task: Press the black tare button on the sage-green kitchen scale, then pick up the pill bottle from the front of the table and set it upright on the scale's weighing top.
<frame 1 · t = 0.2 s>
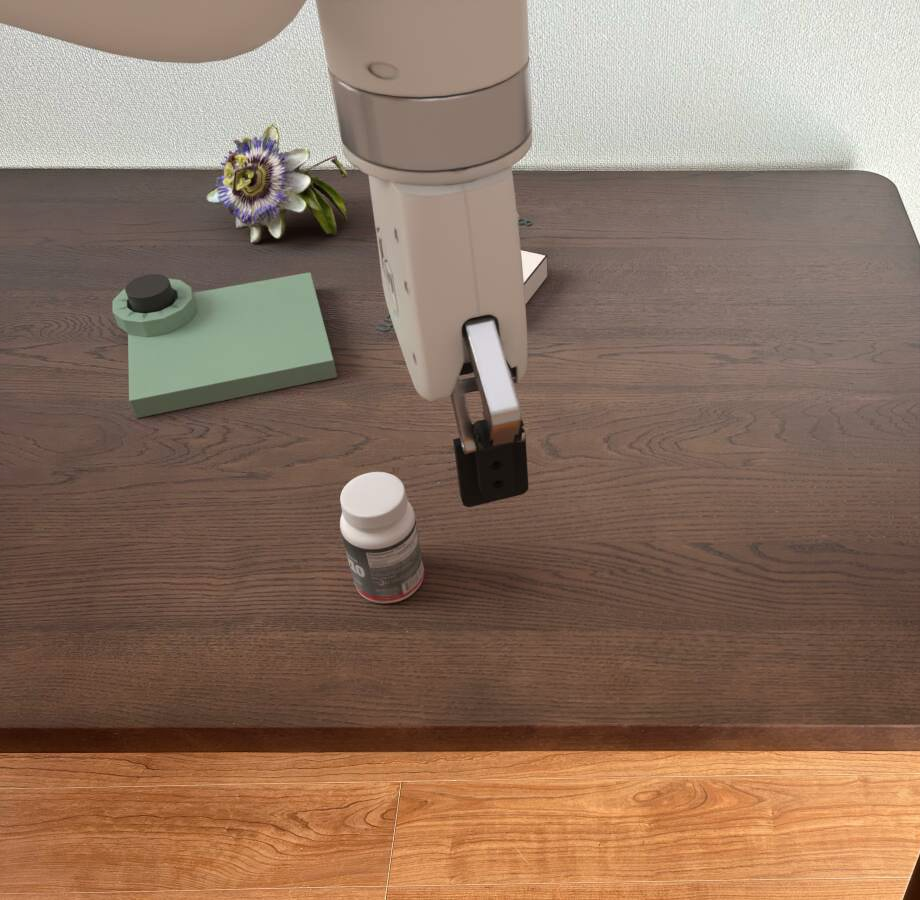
hand: (470, 431, 49), 19 cm above the table, tool pointing down, fingers open, 9 cm apart
scale: (232, 348, 84), on the table
tare button: (150, 294, 83), point 4 cm above the table, slide at 0.1 cm
pill bottle: (390, 580, 66), on the table
passion flower: (287, 225, 100), on the table
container: (472, 291, 92), on the table
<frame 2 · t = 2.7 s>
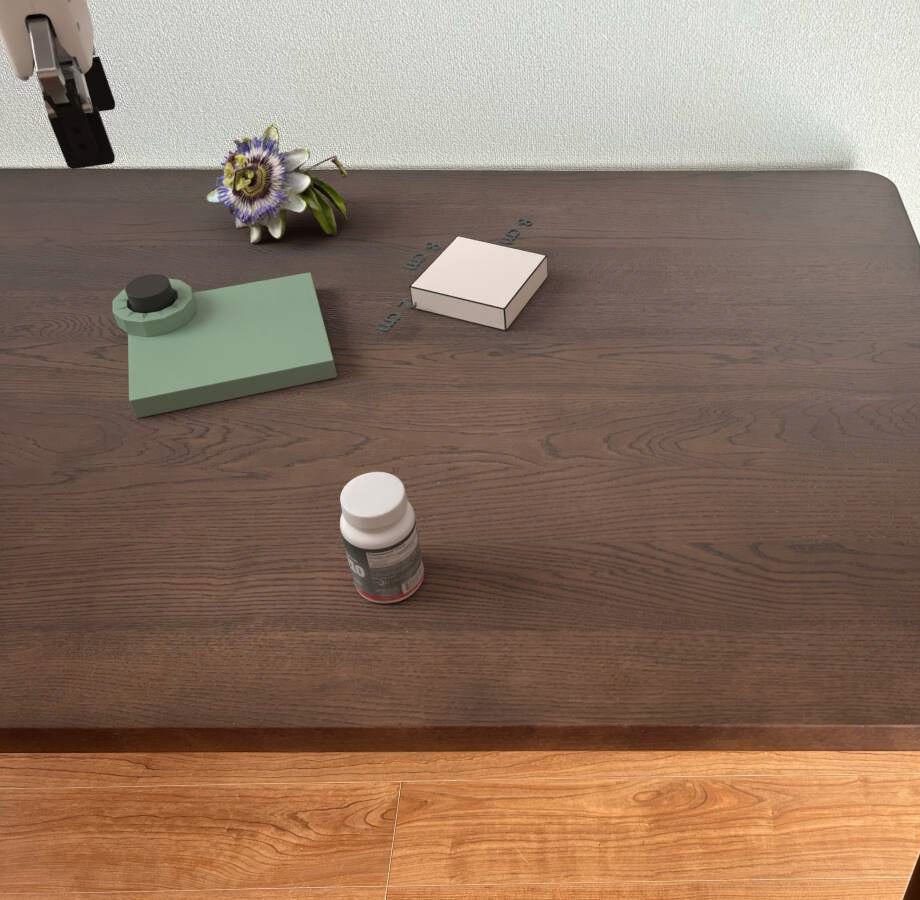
hand: (93, 136, 73), 18 cm above the table, tool pointing down, fingers open, 9 cm apart
nothing on the table moved.
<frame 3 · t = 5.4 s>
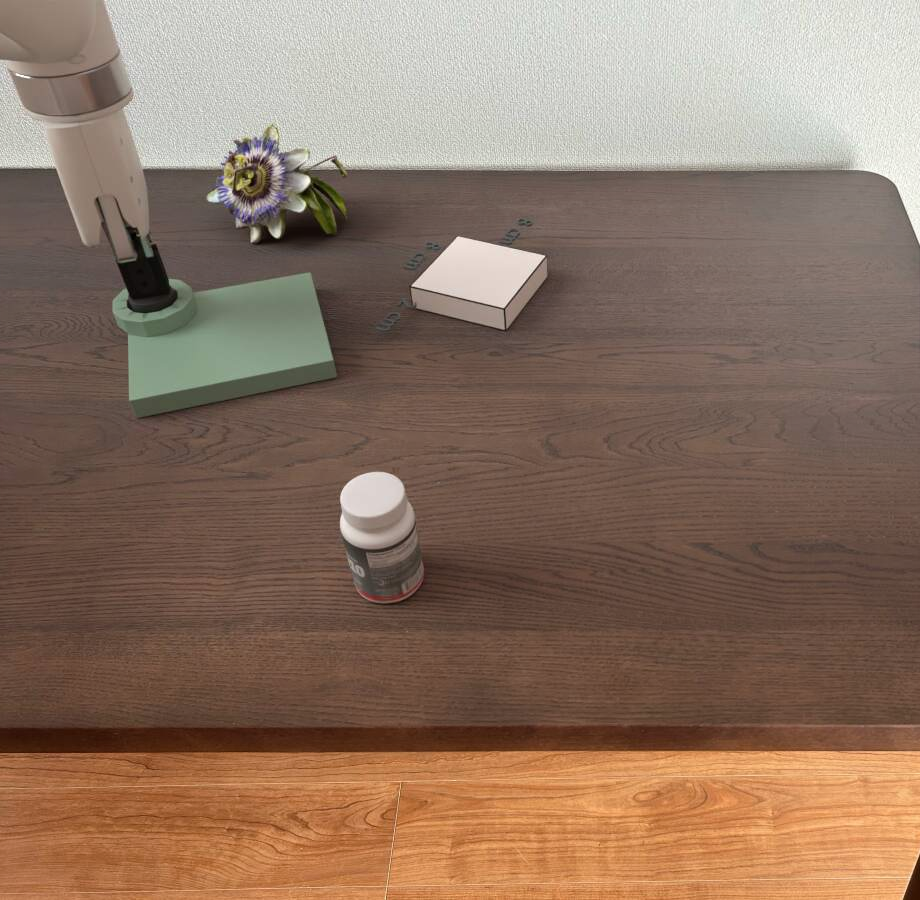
hand: (150, 291, 83), 4 cm above the table, tool pointing down, fingers closed
tare button: (153, 301, 84), point 3 cm above the table, slide at -0.6 cm, touching gripper
everything else where it was.
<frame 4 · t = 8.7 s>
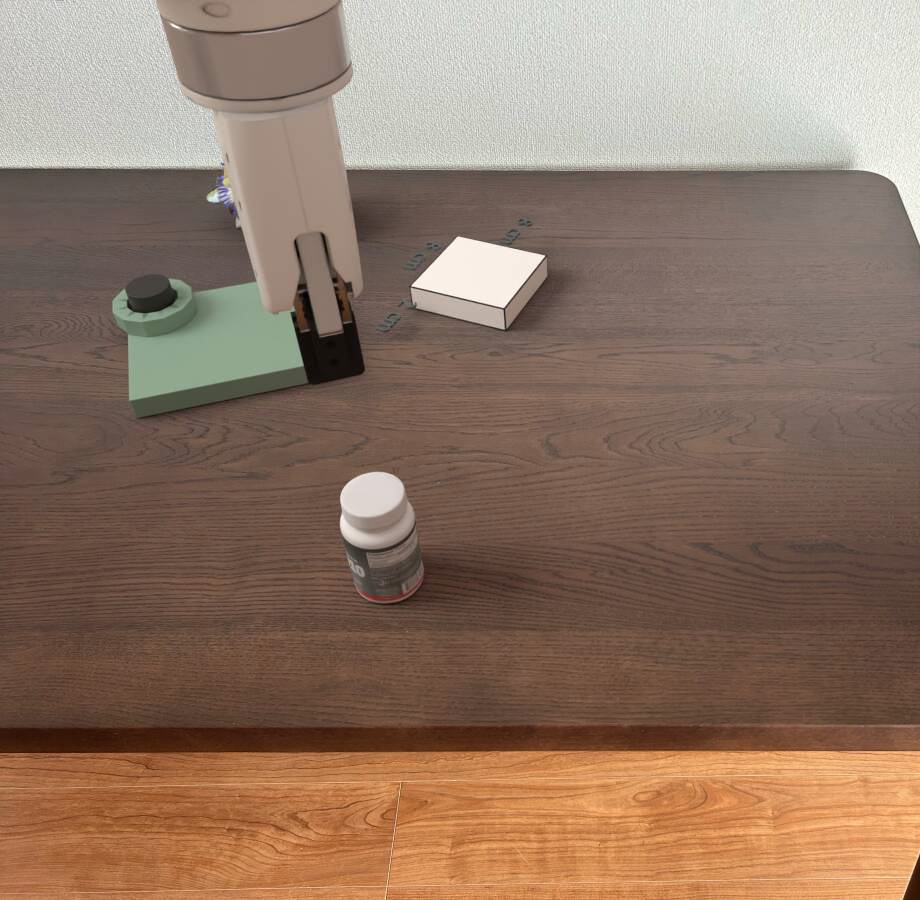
hand: (335, 371, 55), 17 cm above the table, tool pointing down, fingers closed
tare button: (150, 294, 83), point 4 cm above the table, slide at 0.1 cm
everything else where it was.
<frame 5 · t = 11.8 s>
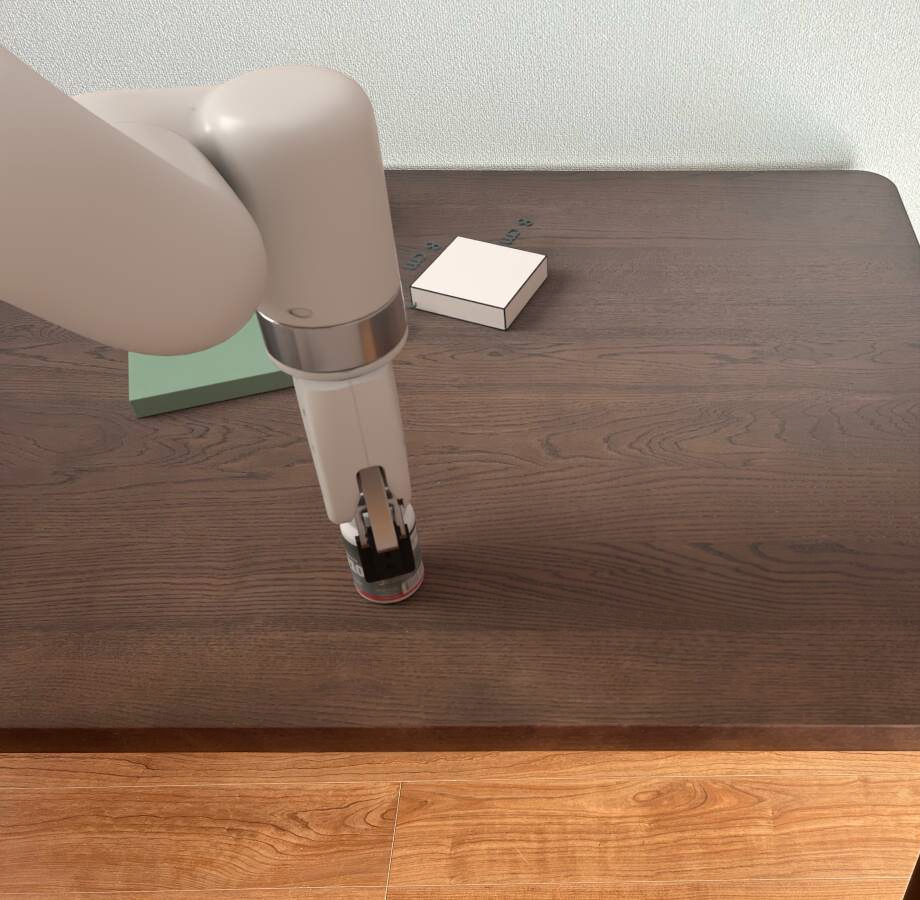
hand: (382, 541, 63), 4 cm above the table, tool pointing down, fingers closed on pill bottle, 4 cm apart
pill bottle: (390, 580, 66), on the table, touching gripper
everything else where it was.
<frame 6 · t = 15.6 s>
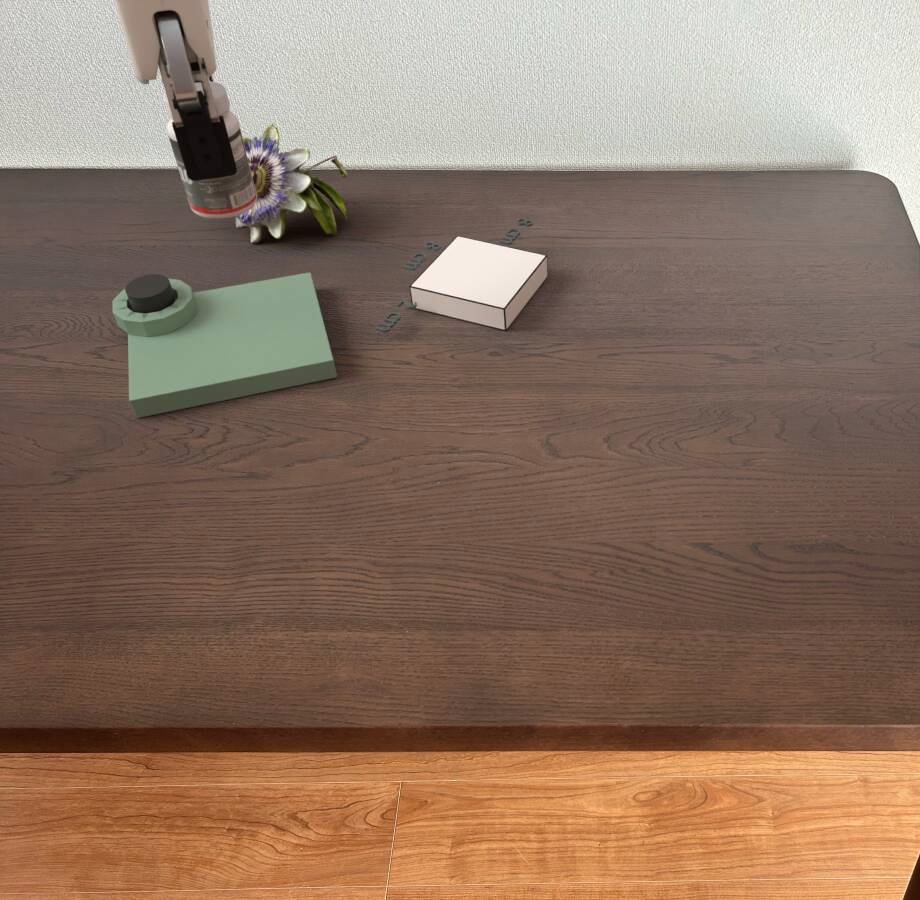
hand: (210, 155, 68), 20 cm above the table, tool pointing down, fingers closed on pill bottle, 4 cm apart
pill bottle: (225, 206, 71), point 16 cm above the table, touching gripper
everything else where it was.
when the fingers open (6 cm above the table, at t = 19.5 s): pill bottle stays where it is, resting on scale.
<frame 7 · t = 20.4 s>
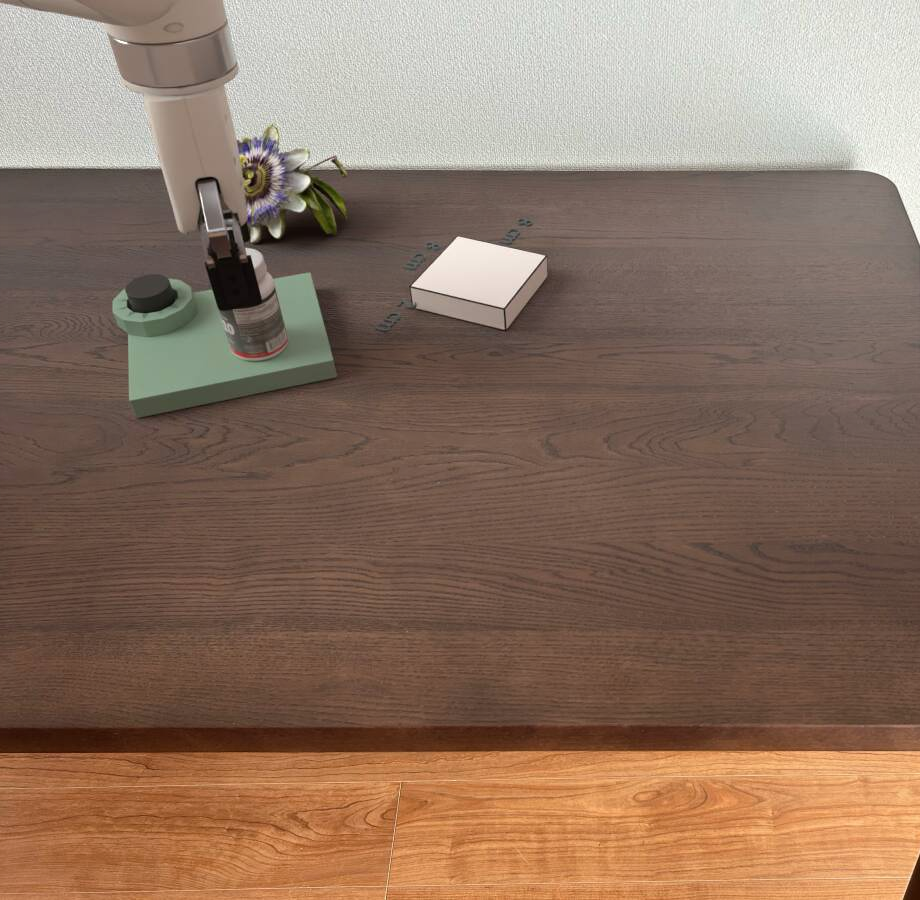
hand: (235, 273, 76), 9 cm above the table, tool pointing down, fingers open, 9 cm apart
pill bottle: (261, 347, 82), point 2 cm above the table, touching scale
everything else where it was.
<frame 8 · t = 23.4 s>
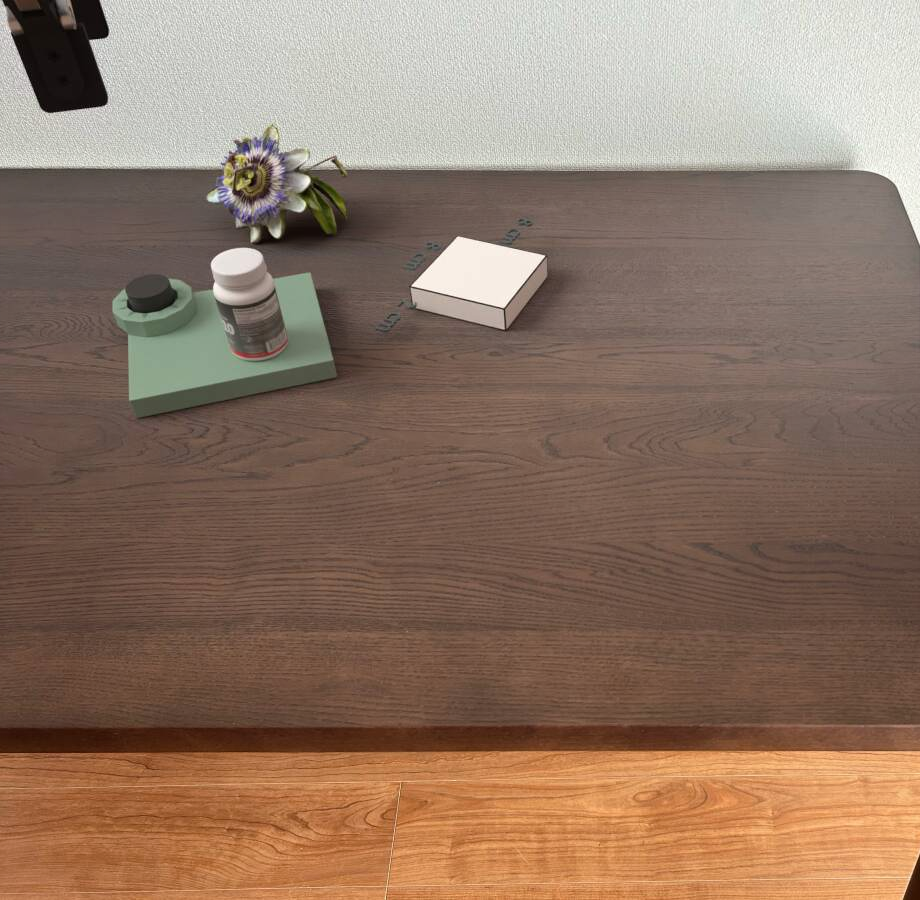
hand: (79, 71, 53), 30 cm above the table, tool pointing down, fingers open, 9 cm apart
nothing on the table moved.
at the end: tare button pushed in 0.9 cm at the most during the clip, back to where it started at the end; pill bottle inside the target area on the scale (0.1 cm from its centre), point 1.7 cm above the scale's base; pill bottle tilted 0° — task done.
